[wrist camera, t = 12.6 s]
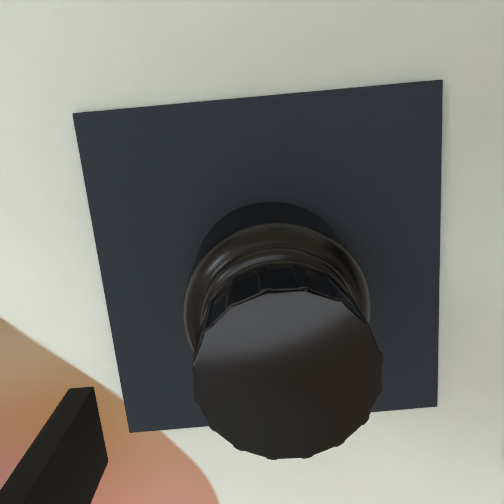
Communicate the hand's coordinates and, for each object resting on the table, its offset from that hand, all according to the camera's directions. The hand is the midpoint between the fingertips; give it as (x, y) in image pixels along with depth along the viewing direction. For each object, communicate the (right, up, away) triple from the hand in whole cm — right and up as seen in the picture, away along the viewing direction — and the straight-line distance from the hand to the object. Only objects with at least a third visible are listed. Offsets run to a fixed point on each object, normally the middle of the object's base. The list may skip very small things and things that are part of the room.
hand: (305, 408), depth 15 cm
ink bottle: (-1, +4, +14) cm, 14 cm away
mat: (0, +4, +14) cm, 14 cm away
